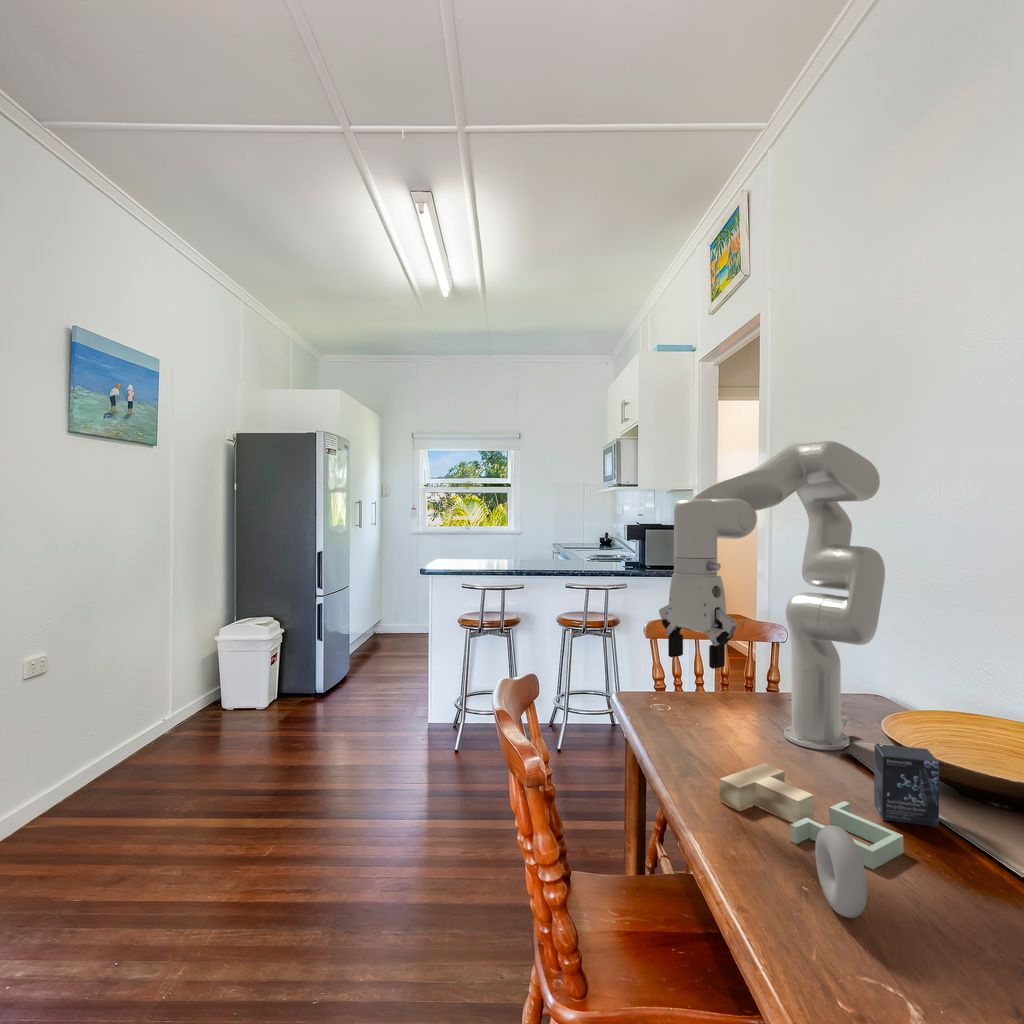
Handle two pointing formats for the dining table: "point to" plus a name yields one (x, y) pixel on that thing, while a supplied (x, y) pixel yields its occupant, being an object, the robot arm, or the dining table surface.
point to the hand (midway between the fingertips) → (695, 661)
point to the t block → (767, 793)
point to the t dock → (872, 856)
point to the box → (906, 785)
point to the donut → (841, 871)
